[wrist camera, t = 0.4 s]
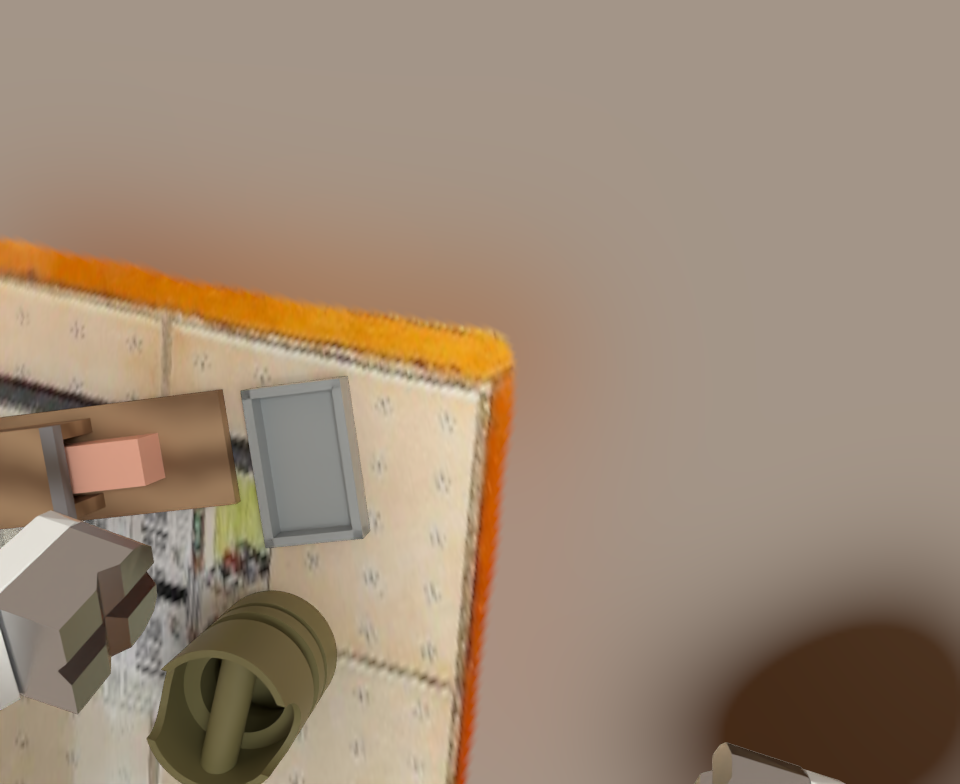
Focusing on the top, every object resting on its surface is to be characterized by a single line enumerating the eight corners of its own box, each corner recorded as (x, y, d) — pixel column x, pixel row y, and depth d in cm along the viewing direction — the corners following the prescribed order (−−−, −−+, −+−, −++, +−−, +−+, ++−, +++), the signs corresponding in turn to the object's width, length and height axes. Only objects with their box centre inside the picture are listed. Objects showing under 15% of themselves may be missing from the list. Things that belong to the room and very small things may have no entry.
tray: (370, 530, 65) (363, 538, 63) (276, 539, 66) (265, 548, 64) (347, 375, 64) (339, 378, 62) (252, 388, 65) (240, 390, 63)
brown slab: (240, 501, 66) (208, 519, 60) (13, 525, 69) (-39, 545, 63) (222, 389, 65) (188, 396, 59) (-7, 418, 68) (-61, 428, 62)
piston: (303, 675, 54) (270, 813, 56) (349, 610, 66) (321, 726, 68) (158, 631, 55) (130, 769, 57) (229, 575, 67) (204, 690, 68)
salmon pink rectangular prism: (165, 477, 66) (145, 485, 62) (60, 489, 67) (35, 498, 64) (157, 432, 65) (137, 438, 62) (52, 445, 66) (27, 452, 63)
